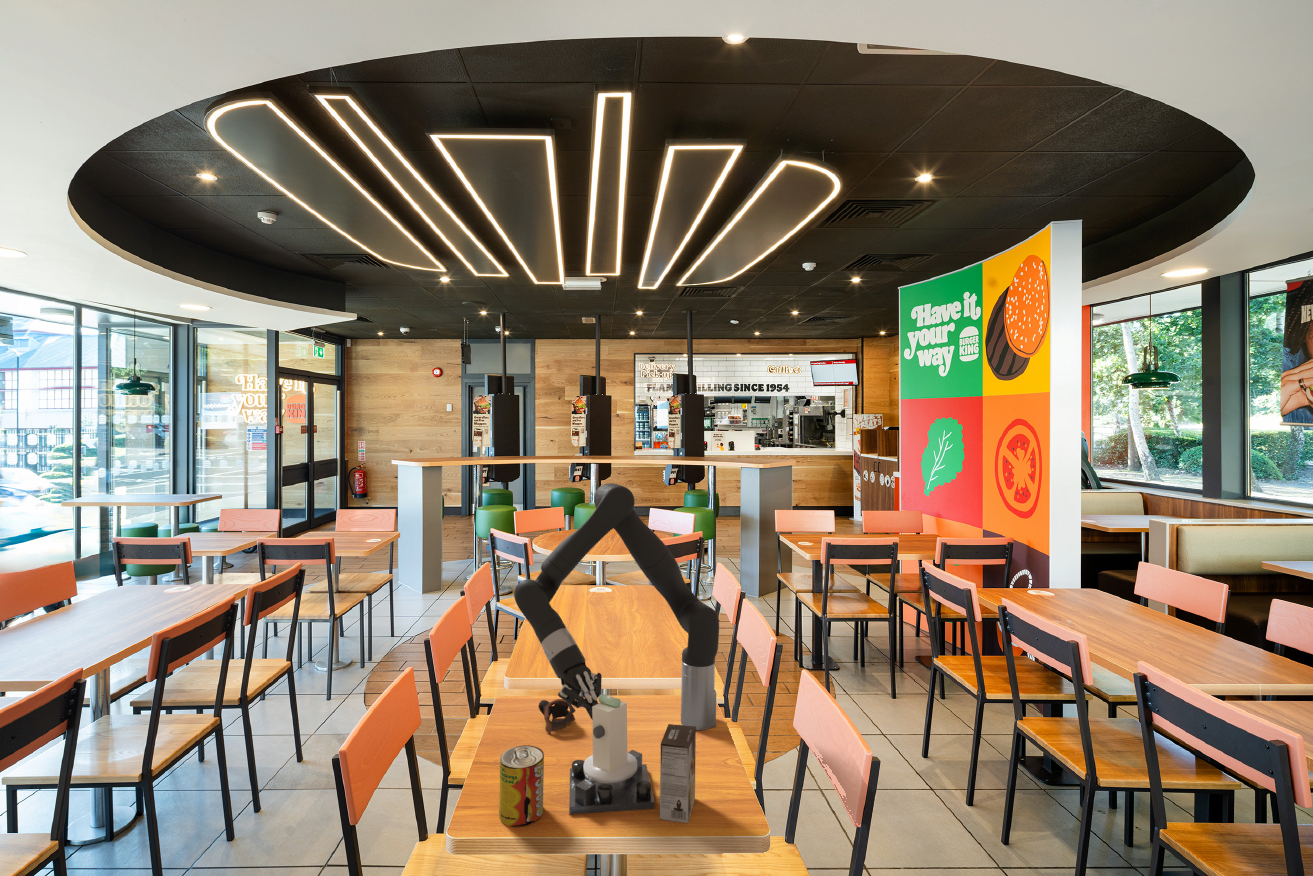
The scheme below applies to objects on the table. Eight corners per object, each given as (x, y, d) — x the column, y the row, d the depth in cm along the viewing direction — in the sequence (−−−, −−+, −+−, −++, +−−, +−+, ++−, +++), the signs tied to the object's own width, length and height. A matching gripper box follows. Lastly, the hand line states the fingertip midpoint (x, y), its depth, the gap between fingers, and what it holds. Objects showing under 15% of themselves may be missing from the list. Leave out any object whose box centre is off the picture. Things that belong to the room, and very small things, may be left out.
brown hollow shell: (582, 722, 169) (582, 703, 165) (563, 750, 162) (562, 731, 158) (547, 703, 174) (546, 684, 169) (527, 730, 166) (525, 711, 162)
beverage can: (502, 831, 121) (503, 771, 121) (495, 806, 129) (496, 750, 129) (547, 820, 125) (548, 762, 125) (537, 796, 133) (538, 742, 133)
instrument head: (609, 753, 144) (608, 681, 144) (648, 768, 137) (647, 692, 137) (571, 775, 134) (570, 698, 135) (612, 793, 127) (611, 712, 127)
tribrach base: (646, 769, 144) (646, 749, 144) (654, 809, 129) (654, 786, 129) (569, 774, 142) (570, 752, 142) (569, 815, 127) (569, 791, 127)
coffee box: (666, 794, 135) (668, 722, 135) (695, 798, 133) (696, 725, 133) (658, 820, 126) (660, 742, 126) (689, 824, 124) (690, 746, 124)
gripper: (550, 651, 138) (587, 721, 131) (590, 637, 149) (627, 701, 141) (534, 669, 141) (569, 738, 134) (574, 653, 152) (609, 717, 144)
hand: (599, 719), depth 138 cm, fingers closed
